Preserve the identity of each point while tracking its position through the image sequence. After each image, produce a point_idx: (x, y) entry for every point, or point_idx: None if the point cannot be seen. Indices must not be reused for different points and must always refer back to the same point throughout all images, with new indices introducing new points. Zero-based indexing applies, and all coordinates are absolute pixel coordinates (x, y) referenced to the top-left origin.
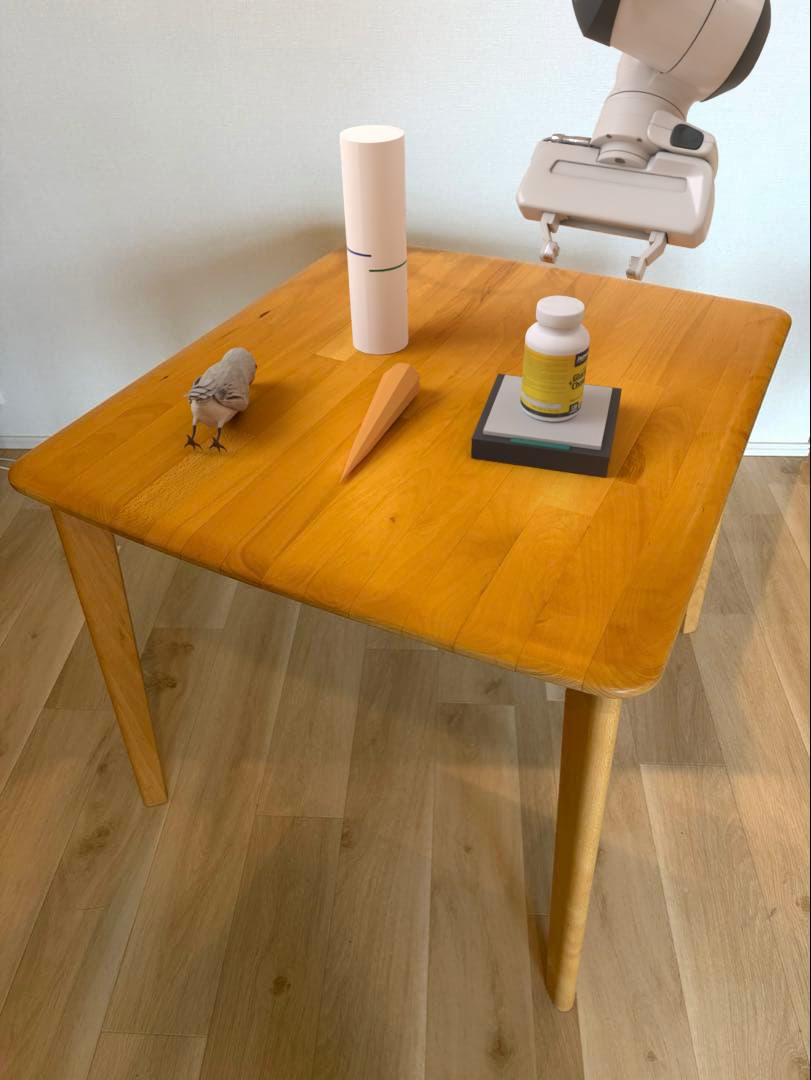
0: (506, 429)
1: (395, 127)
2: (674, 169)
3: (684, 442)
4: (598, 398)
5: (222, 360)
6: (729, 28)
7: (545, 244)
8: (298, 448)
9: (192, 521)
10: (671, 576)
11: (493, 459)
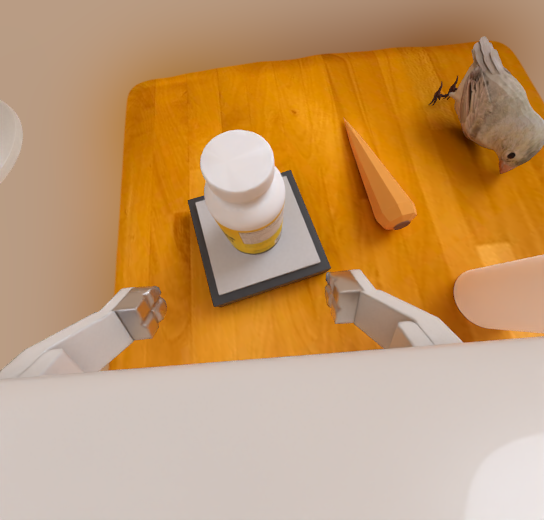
0: None
1: None
2: None
3: (153, 284)
4: (223, 268)
5: (527, 99)
6: None
7: (363, 283)
8: (395, 133)
9: (385, 62)
10: (132, 148)
11: None
